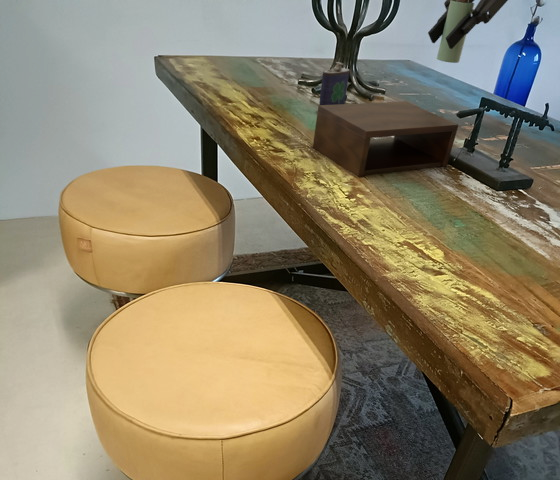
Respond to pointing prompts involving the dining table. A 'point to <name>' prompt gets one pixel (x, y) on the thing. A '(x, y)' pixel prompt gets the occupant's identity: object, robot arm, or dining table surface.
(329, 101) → the flask
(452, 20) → the canister
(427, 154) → the shelf
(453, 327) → the dining table surface
